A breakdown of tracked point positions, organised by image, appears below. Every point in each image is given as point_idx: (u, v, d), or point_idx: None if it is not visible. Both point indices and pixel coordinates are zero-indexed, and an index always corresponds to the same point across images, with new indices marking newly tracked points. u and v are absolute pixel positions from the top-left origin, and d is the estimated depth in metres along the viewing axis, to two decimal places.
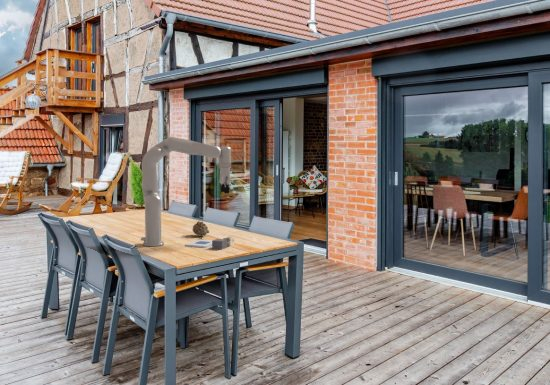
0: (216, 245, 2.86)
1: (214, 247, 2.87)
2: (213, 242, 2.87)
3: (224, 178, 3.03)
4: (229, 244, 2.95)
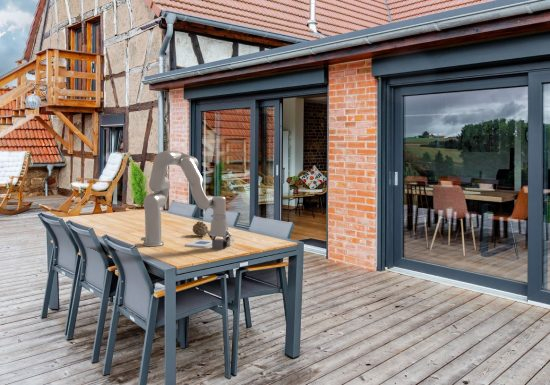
0: (216, 244, 2.86)
1: (214, 247, 2.87)
2: (213, 242, 2.87)
3: (225, 231, 2.85)
4: (229, 244, 2.95)
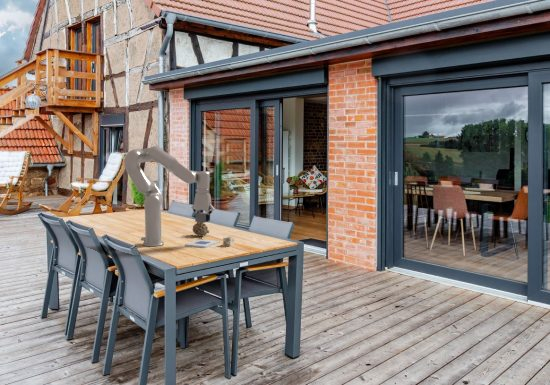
0: (199, 218, 2.95)
1: (197, 220, 2.96)
2: (196, 215, 2.96)
3: (208, 204, 2.94)
4: (229, 244, 2.95)
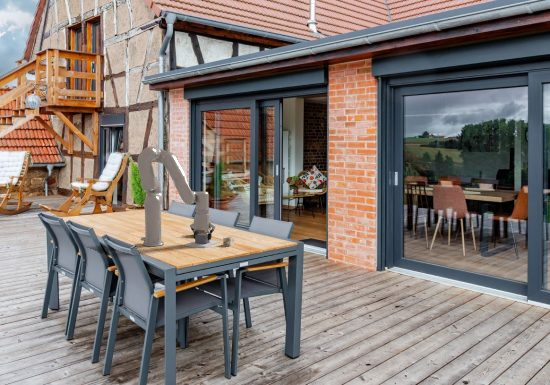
0: (199, 239, 2.97)
1: (197, 241, 2.97)
2: (196, 236, 2.97)
3: (208, 224, 2.96)
4: (229, 244, 2.95)
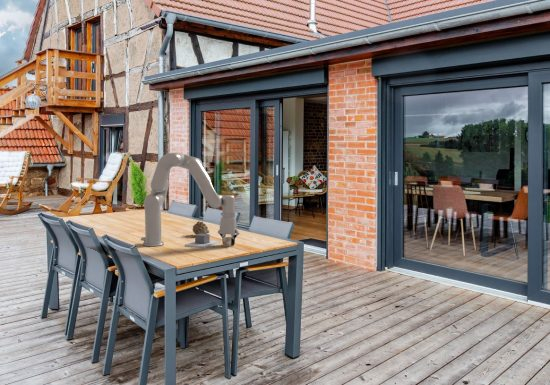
0: (199, 239, 2.97)
1: (197, 241, 2.97)
2: (196, 236, 2.97)
3: (234, 228, 2.94)
4: (229, 244, 2.95)
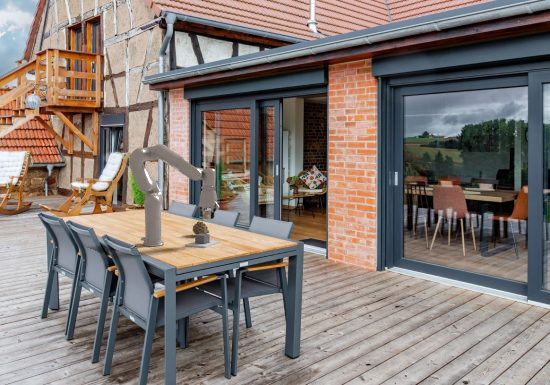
0: (199, 239, 2.97)
1: (197, 241, 2.97)
2: (196, 236, 2.97)
3: (214, 202, 2.94)
4: (209, 217, 2.95)
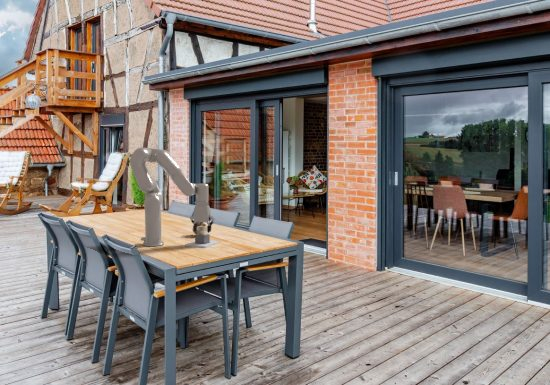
0: (199, 239, 2.97)
1: (197, 241, 2.97)
2: (196, 236, 2.97)
3: (208, 216, 2.95)
4: (202, 233, 2.96)
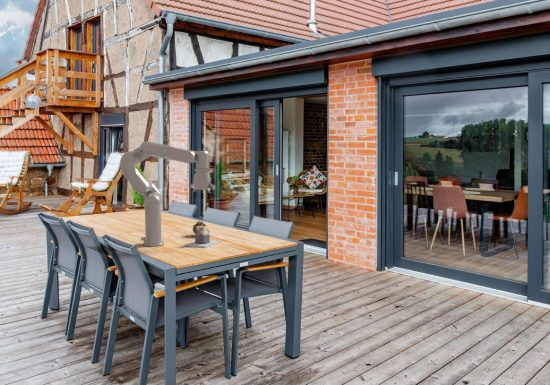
0: (199, 239, 2.97)
1: (197, 241, 2.97)
2: (196, 236, 2.97)
3: (208, 184, 2.94)
4: (202, 233, 2.96)
